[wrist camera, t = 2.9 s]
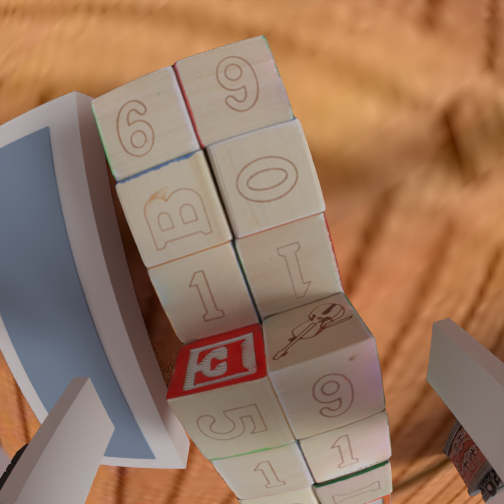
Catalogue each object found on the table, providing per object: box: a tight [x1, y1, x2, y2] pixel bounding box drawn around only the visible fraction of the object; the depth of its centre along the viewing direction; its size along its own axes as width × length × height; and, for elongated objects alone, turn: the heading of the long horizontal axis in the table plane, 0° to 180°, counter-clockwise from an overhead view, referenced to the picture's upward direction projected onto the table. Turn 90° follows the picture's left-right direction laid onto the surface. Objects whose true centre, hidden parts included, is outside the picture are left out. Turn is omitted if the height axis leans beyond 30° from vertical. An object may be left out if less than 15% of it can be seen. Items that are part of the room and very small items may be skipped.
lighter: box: [444, 420, 504, 503], centre depth 20 cm, size 8×3×10 cm, turn 2°
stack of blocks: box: [91, 35, 392, 504], centre depth 14 cm, size 21×6×12 cm, turn 18°
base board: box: [0, 91, 190, 468], centre depth 19 cm, size 27×12×3 cm, turn 9°
